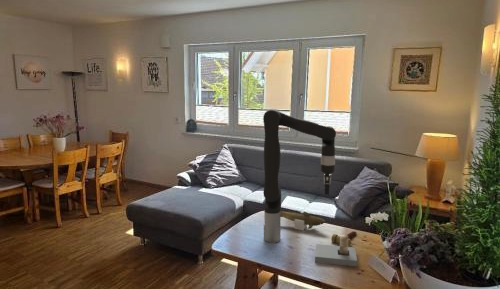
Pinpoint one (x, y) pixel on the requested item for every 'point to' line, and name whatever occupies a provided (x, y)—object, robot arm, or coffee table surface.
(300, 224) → the wood carving
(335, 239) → the gavel
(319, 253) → the board
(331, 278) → the coffee table surface
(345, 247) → the peg
